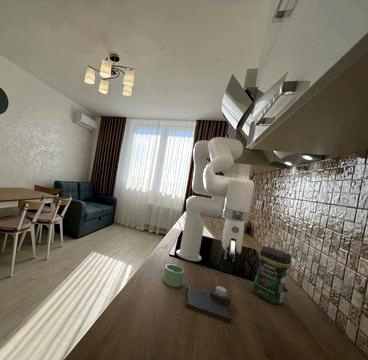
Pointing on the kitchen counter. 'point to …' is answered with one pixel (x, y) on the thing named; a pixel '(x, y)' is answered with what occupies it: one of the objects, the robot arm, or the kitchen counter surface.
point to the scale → (209, 303)
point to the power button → (221, 291)
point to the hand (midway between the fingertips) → (225, 268)
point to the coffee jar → (271, 274)
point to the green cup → (173, 275)
